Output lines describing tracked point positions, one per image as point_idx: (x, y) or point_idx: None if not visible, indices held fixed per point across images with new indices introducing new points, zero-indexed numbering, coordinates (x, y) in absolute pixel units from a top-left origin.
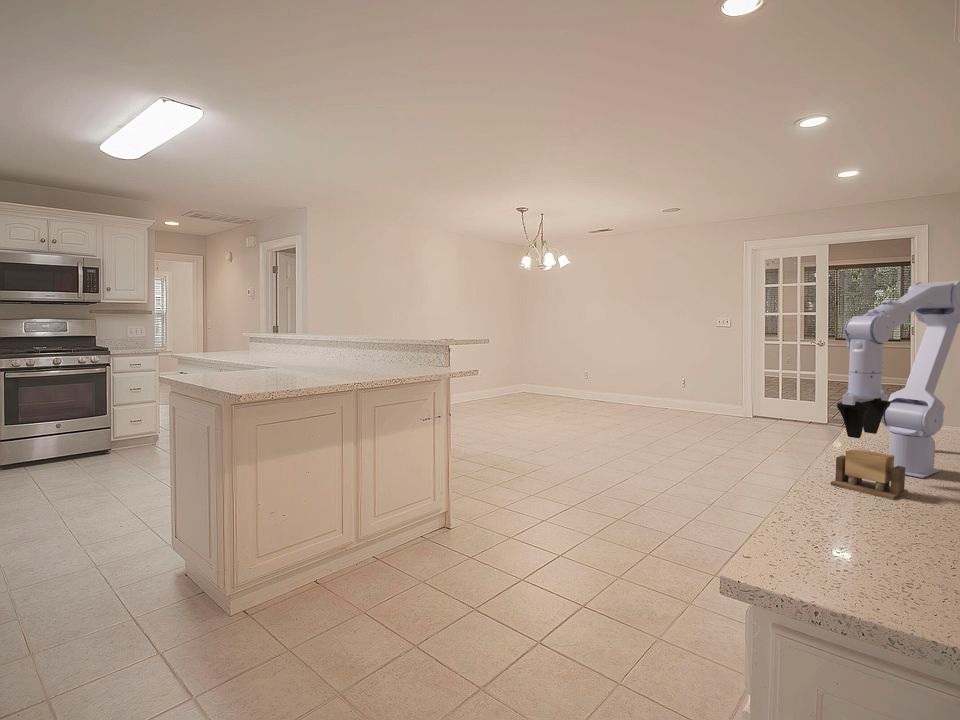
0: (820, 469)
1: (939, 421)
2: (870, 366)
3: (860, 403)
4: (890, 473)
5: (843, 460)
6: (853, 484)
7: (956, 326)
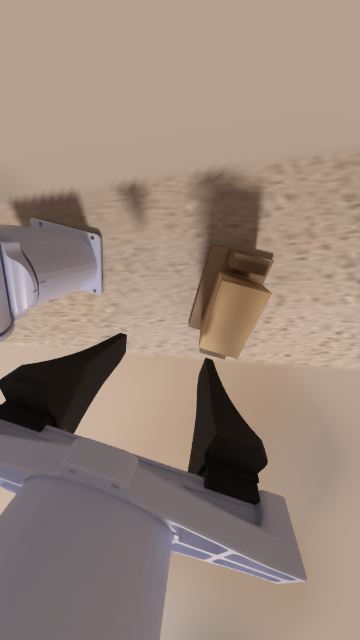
0: (160, 352)
1: None
2: None
3: (73, 428)
4: (234, 276)
5: None
6: None
7: None
